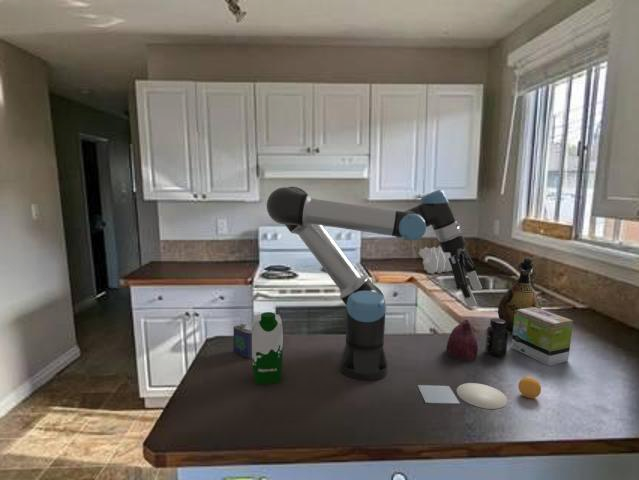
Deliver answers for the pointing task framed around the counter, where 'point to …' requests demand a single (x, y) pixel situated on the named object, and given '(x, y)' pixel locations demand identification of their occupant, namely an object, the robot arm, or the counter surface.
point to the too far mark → (438, 394)
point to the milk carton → (267, 348)
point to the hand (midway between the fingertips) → (475, 297)
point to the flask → (242, 341)
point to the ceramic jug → (518, 296)
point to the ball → (529, 387)
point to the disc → (482, 396)
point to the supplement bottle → (496, 338)
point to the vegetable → (462, 343)
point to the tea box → (542, 335)
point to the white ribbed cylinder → (435, 260)
